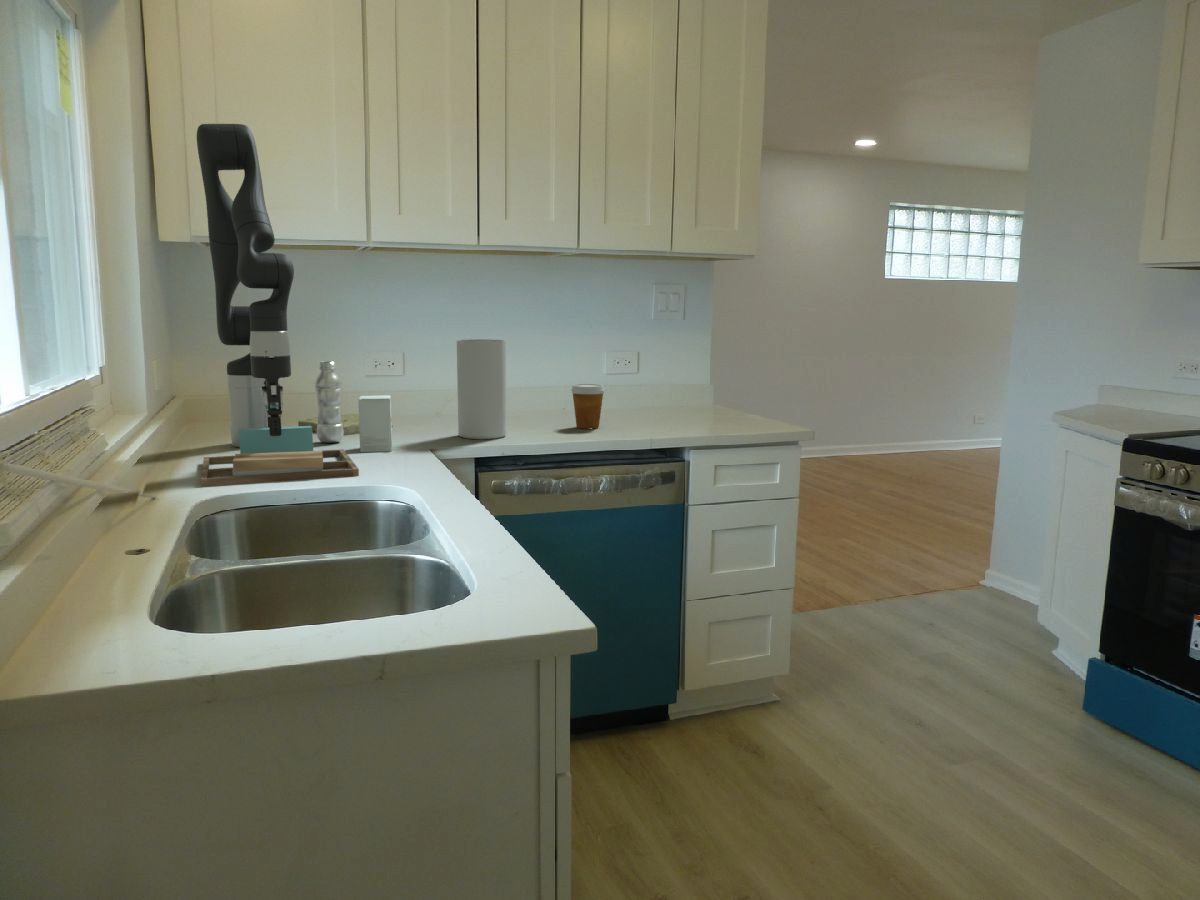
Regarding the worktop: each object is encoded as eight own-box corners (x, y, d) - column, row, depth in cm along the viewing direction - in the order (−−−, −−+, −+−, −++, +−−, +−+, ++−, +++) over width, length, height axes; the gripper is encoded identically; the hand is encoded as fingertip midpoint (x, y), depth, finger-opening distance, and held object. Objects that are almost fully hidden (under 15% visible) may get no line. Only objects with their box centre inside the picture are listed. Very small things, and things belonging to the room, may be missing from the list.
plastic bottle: (343, 439, 217) (339, 360, 213) (345, 444, 211) (341, 362, 207) (316, 441, 215) (312, 361, 211) (317, 445, 208) (313, 363, 205)
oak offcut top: (236, 463, 166) (235, 453, 166) (322, 460, 172) (322, 450, 171) (233, 471, 160) (232, 460, 160) (323, 467, 165) (322, 457, 165)
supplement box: (392, 451, 201) (390, 398, 198) (359, 452, 199) (357, 398, 197) (393, 446, 208) (391, 394, 206) (361, 447, 206) (359, 395, 204)
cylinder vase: (516, 436, 225) (515, 340, 220) (477, 441, 216) (475, 342, 212) (487, 431, 233) (485, 338, 229) (448, 435, 225) (446, 340, 221)
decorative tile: (339, 437, 223) (339, 424, 222) (297, 430, 235) (296, 417, 235) (397, 430, 237) (397, 417, 236) (355, 423, 249) (354, 411, 249)
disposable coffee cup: (565, 428, 239) (566, 386, 237) (577, 424, 248) (577, 383, 246) (598, 430, 236) (598, 387, 234) (608, 426, 245) (609, 384, 243)
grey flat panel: (234, 474, 166) (233, 464, 166) (320, 470, 172) (320, 460, 172) (233, 482, 160) (232, 471, 160) (322, 477, 166) (322, 467, 165)
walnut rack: (204, 469, 178) (203, 457, 178) (343, 460, 189) (343, 449, 189) (201, 492, 156) (200, 479, 156) (359, 481, 167) (358, 468, 167)
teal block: (241, 472, 176) (238, 429, 174) (313, 467, 181) (310, 425, 180) (241, 474, 173) (238, 430, 172) (314, 470, 179) (312, 427, 177)
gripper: (249, 352, 178) (254, 429, 181) (251, 355, 165) (255, 438, 168) (288, 352, 181) (291, 428, 183) (292, 355, 168) (296, 436, 170)
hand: (274, 433), depth 176 cm, fingers open, 8 cm apart
